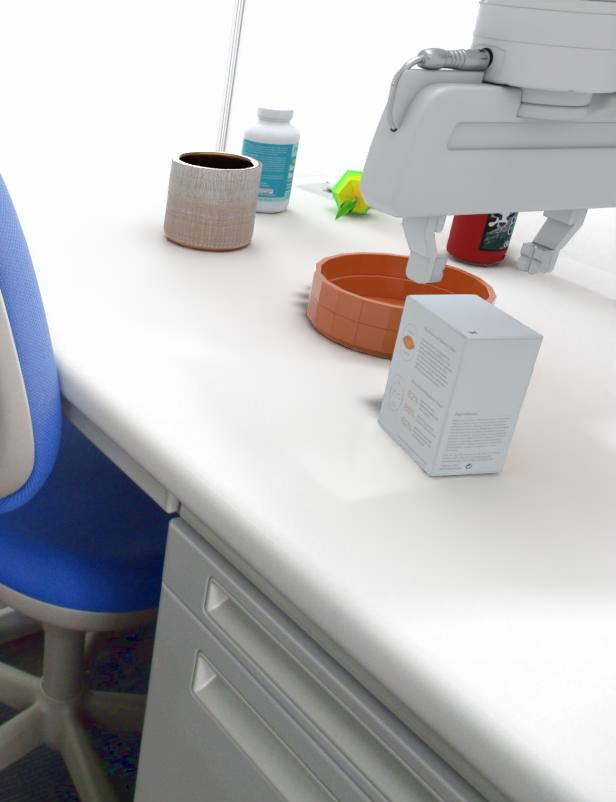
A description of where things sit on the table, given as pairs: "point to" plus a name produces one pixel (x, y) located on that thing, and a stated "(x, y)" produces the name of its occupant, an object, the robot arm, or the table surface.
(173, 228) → the planter
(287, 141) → the pill bottle
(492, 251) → the beverage can
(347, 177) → the apple
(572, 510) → the table surface
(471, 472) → the small box
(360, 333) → the pan
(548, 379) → the table surface
